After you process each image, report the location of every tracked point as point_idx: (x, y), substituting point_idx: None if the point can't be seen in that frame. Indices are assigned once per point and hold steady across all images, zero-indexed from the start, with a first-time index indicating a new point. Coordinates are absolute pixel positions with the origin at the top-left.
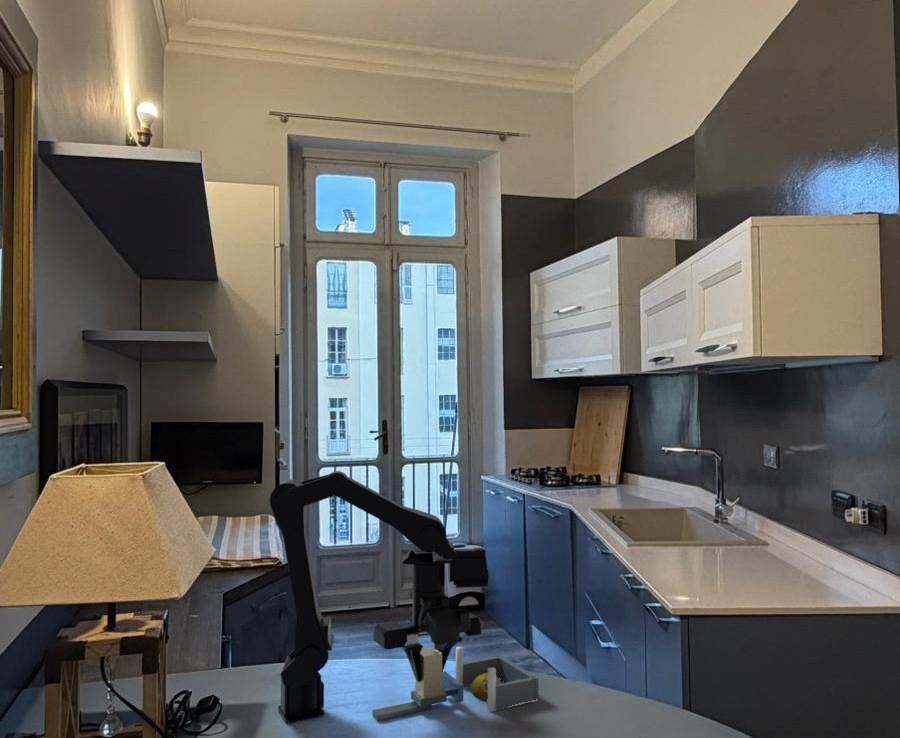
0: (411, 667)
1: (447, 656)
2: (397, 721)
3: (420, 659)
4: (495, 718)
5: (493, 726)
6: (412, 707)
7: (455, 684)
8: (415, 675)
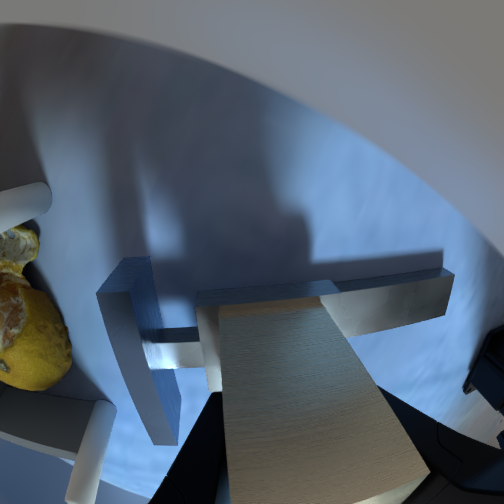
0: None
1: (162, 493)
2: (403, 248)
3: (426, 455)
4: (53, 126)
5: (91, 62)
6: (346, 297)
7: (137, 323)
8: None
